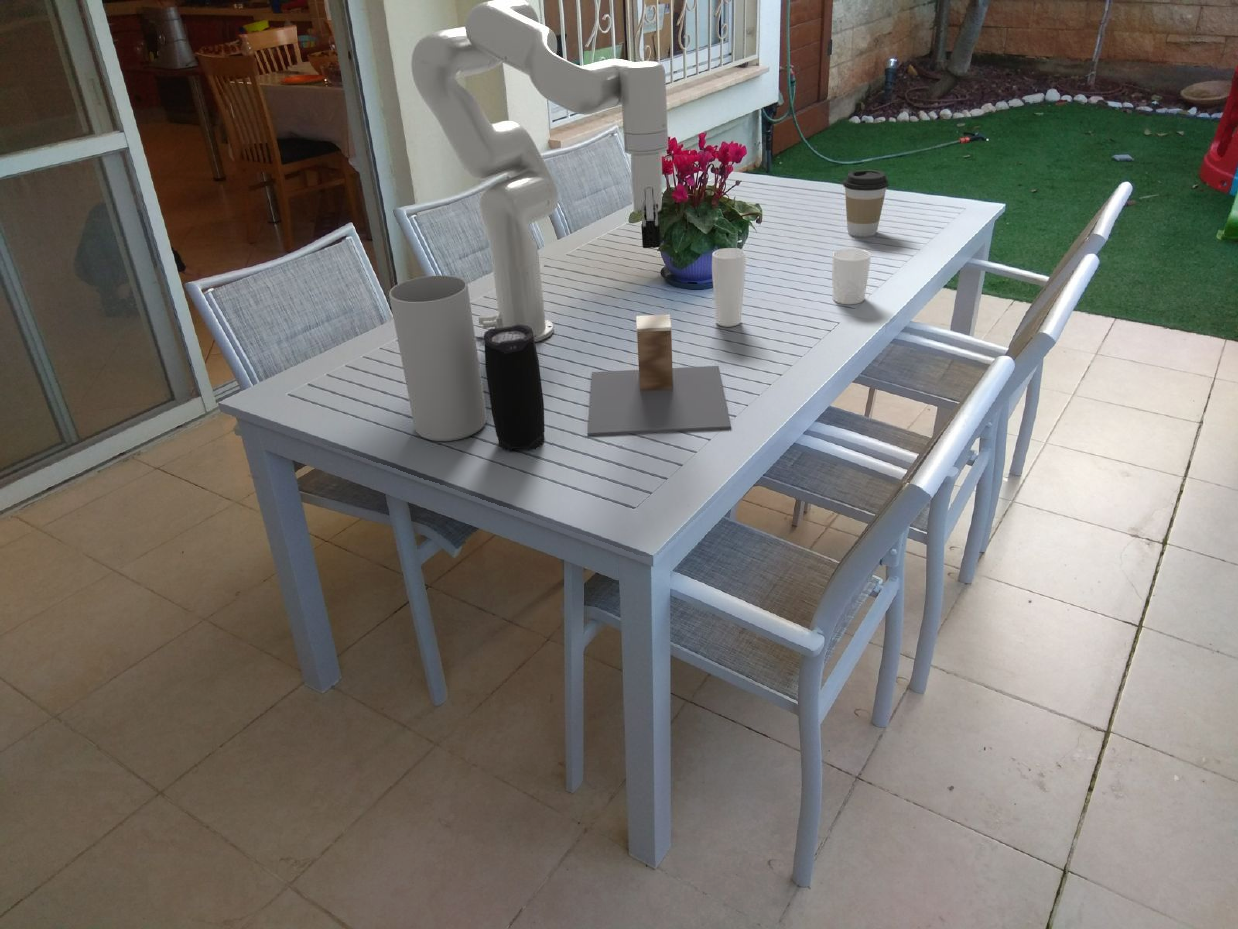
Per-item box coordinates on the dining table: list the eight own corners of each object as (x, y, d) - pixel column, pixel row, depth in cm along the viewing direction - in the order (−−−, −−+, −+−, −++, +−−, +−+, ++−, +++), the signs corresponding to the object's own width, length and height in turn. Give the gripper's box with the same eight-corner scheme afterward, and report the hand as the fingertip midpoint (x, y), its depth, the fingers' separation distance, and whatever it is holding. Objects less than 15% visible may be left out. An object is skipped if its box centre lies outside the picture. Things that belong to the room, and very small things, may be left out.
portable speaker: (542, 425, 160) (530, 318, 150) (551, 451, 152) (540, 340, 142) (492, 433, 159) (478, 325, 149) (499, 459, 151) (484, 348, 141)
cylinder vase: (502, 421, 162) (483, 284, 149) (446, 450, 154) (421, 308, 142) (456, 402, 170) (434, 270, 157) (400, 429, 162) (373, 292, 149)
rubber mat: (587, 435, 156) (587, 433, 156) (591, 374, 177) (591, 372, 176) (731, 428, 155) (731, 426, 155) (718, 368, 176) (718, 365, 176)
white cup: (829, 305, 200) (831, 259, 195) (830, 292, 206) (833, 248, 201) (866, 306, 198) (870, 260, 193) (867, 293, 205) (871, 248, 200)
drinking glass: (743, 329, 191) (744, 258, 183) (710, 328, 192) (710, 258, 185) (746, 317, 197) (747, 247, 189) (714, 316, 198) (713, 247, 190)
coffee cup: (858, 223, 248) (862, 166, 241) (893, 232, 241) (899, 172, 233) (830, 233, 242) (834, 175, 235) (866, 242, 235) (871, 182, 227)
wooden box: (639, 390, 168) (636, 328, 162) (639, 376, 173) (636, 315, 167) (673, 389, 168) (671, 327, 162) (671, 374, 173) (669, 314, 167)
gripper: (624, 133, 165) (630, 235, 174) (624, 151, 152) (630, 260, 161) (666, 130, 165) (670, 233, 174) (669, 148, 152) (674, 258, 161)
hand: (651, 246), depth 168 cm, fingers closed
